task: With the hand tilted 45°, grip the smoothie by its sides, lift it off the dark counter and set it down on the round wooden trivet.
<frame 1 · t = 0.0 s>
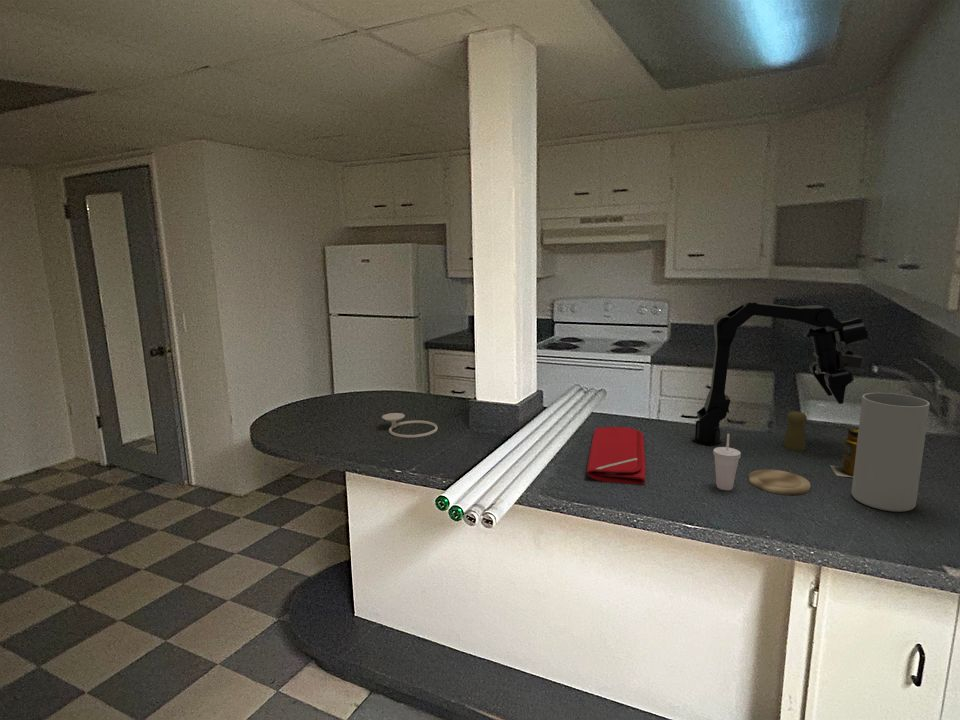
hand: (835, 399, 166), 15 cm above the counter, fingers open, 9 cm apart
trivet: (778, 483, 145), on the counter
dish drying mat: (617, 457, 167), on the counter
cork: (793, 447, 171), on the counter
hand towel holder: (409, 430, 196), on the counter
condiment: (851, 473, 151), on the counter
smoothie: (724, 488, 144), on the counter
cylinder vase: (882, 501, 134), on the counter
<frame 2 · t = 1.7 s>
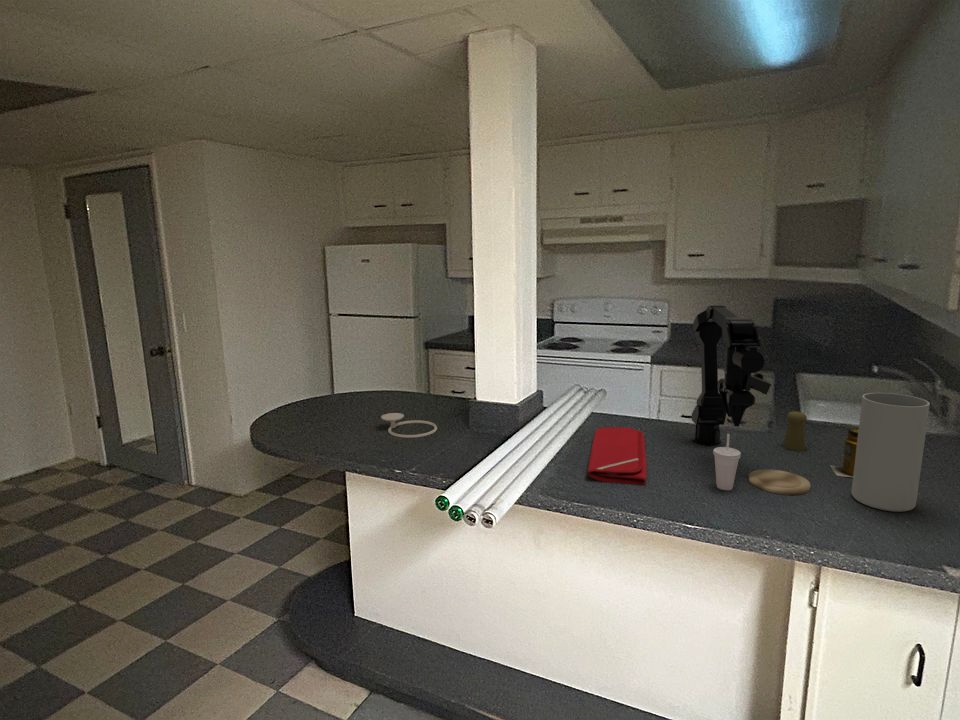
hand: (733, 421, 155), 13 cm above the counter, fingers open, 9 cm apart
nothing on the counter moved.
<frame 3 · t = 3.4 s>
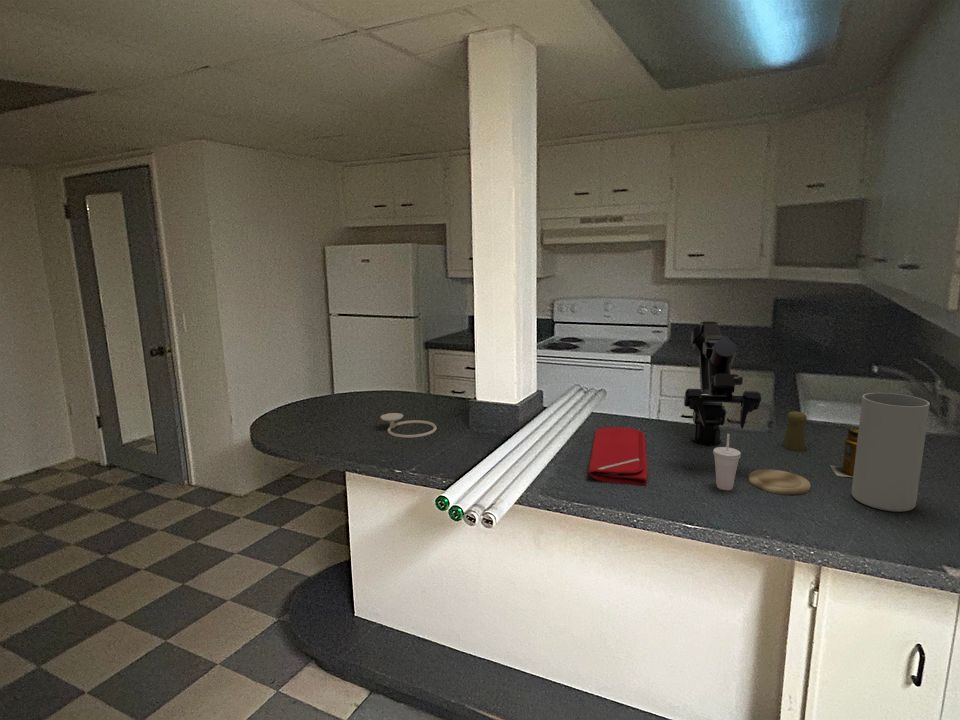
hand: (723, 427, 149), 13 cm above the counter, fingers open, 9 cm apart
nothing on the counter moved.
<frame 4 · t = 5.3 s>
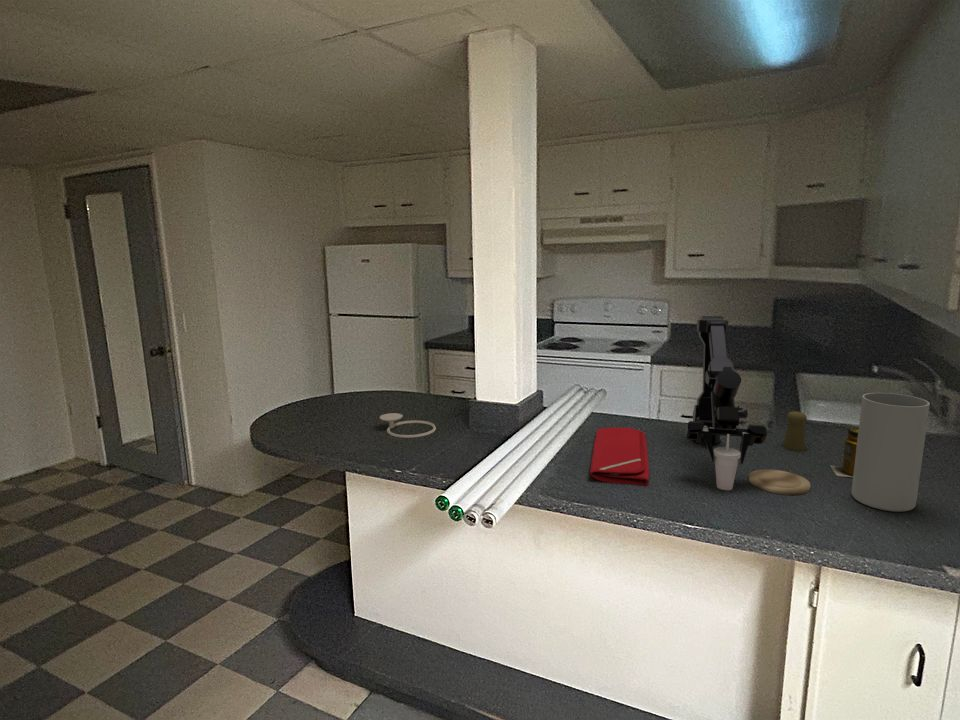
hand: (727, 462, 141), 7 cm above the counter, fingers closed on smoothie, 6 cm apart
smoothie: (724, 487, 144), on the counter, touching gripper
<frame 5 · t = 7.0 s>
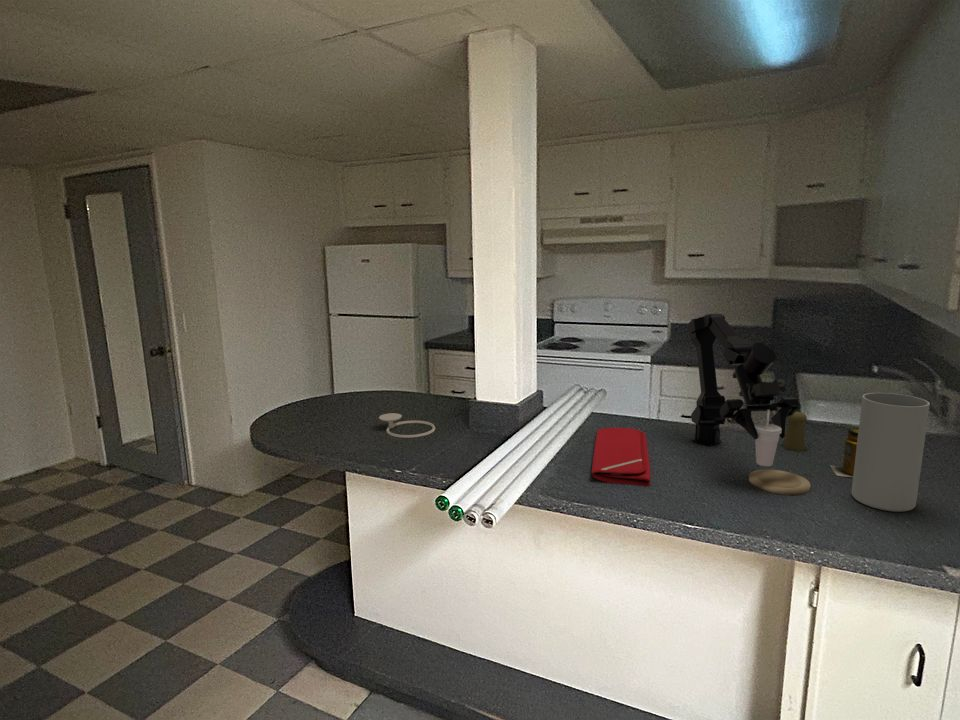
hand: (769, 438, 141), 13 cm above the counter, fingers closed on smoothie, 6 cm apart
smoothie: (764, 464, 143), point 6 cm above the counter, touching gripper
when the fingers open (9 cm above the counter, at t = 8.6 s): smoothie stays where it is, resting on trivet.
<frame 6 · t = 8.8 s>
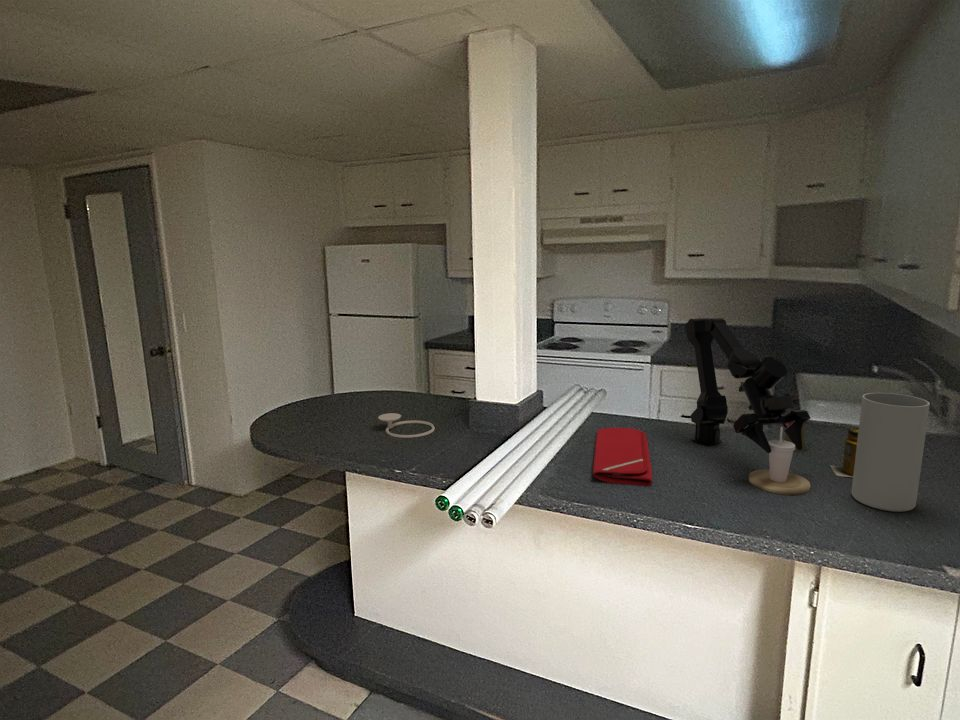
hand: (785, 451, 142), 9 cm above the counter, fingers open, 8 cm apart
smoothie: (778, 480, 145), point 1 cm above the counter, touching trivet
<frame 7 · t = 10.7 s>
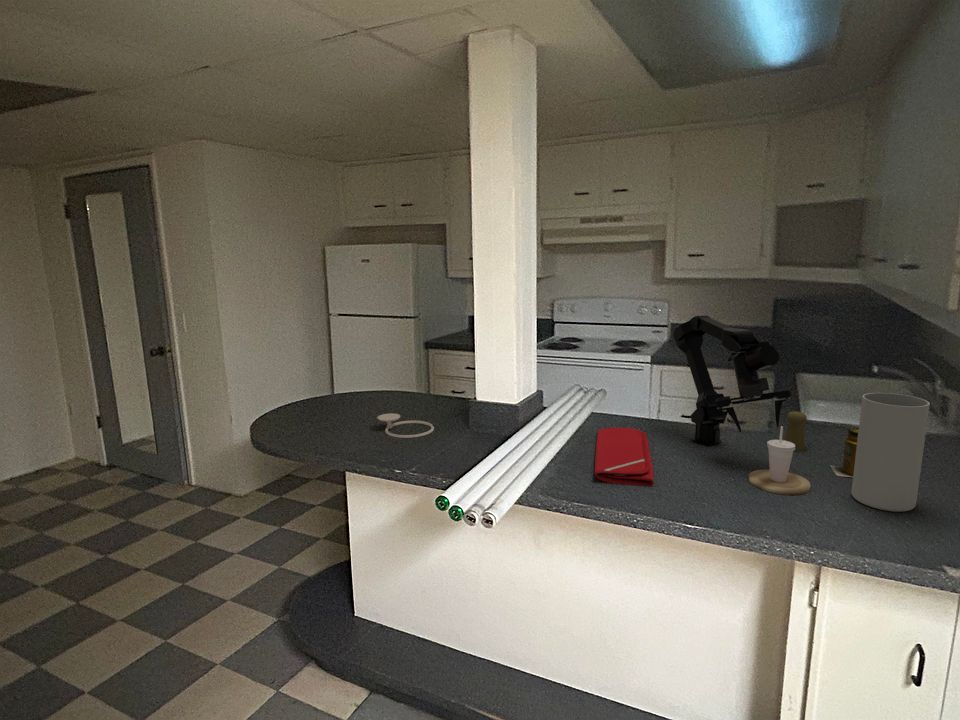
hand: (758, 429, 154), 11 cm above the counter, fingers open, 9 cm apart
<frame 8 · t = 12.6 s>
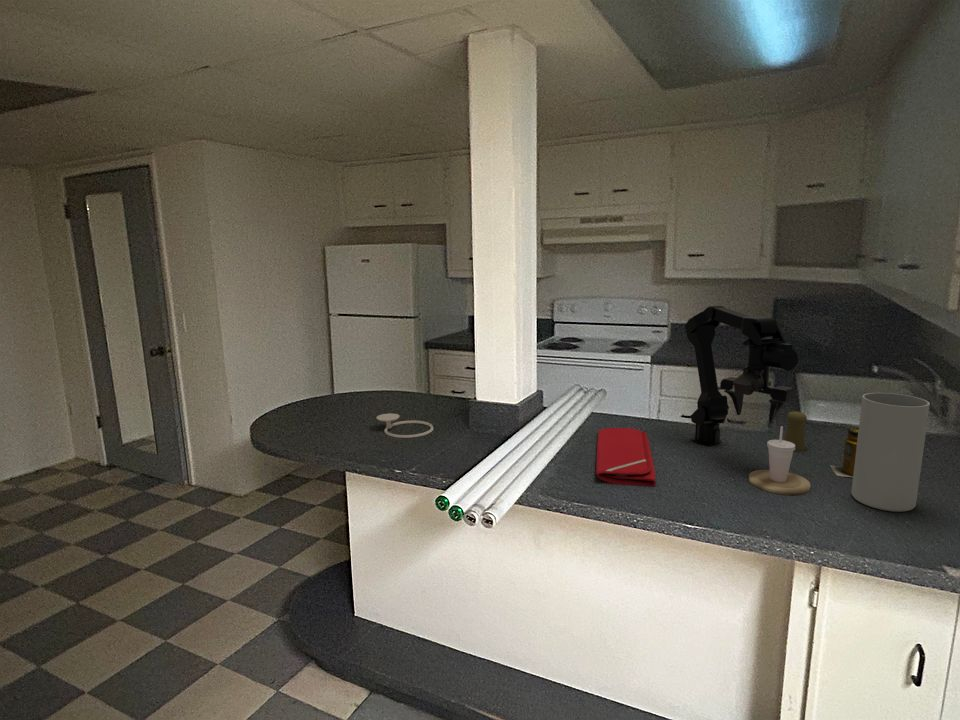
hand: (754, 418, 157), 13 cm above the counter, fingers open, 9 cm apart
at the end: smoothie 0.2 cm from the trivet (horizontally); smoothie tilted 0°; the gripper is holding nothing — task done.
